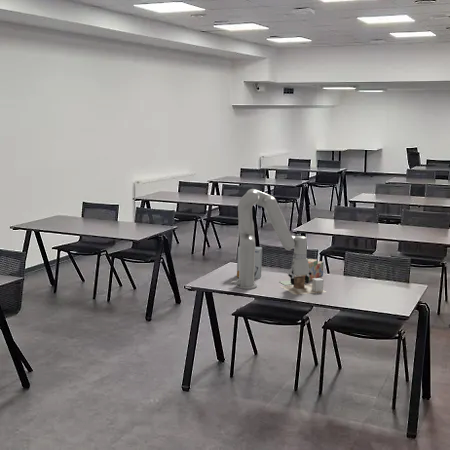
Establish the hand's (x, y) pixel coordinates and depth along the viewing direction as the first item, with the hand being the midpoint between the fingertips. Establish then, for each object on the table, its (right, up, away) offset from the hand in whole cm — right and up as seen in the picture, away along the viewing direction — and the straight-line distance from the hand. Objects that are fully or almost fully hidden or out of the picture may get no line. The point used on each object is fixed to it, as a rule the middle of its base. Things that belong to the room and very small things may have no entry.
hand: (299, 283), depth 379 cm
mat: (-4, -1, +12) cm, 12 cm away
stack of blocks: (+12, +1, +28) cm, 30 cm away
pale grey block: (+10, -4, -5) cm, 12 cm away
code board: (+2, -3, -3) cm, 5 cm away
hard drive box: (-30, +2, +27) cm, 40 cm away
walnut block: (0, -3, 0) cm, 3 cm away
